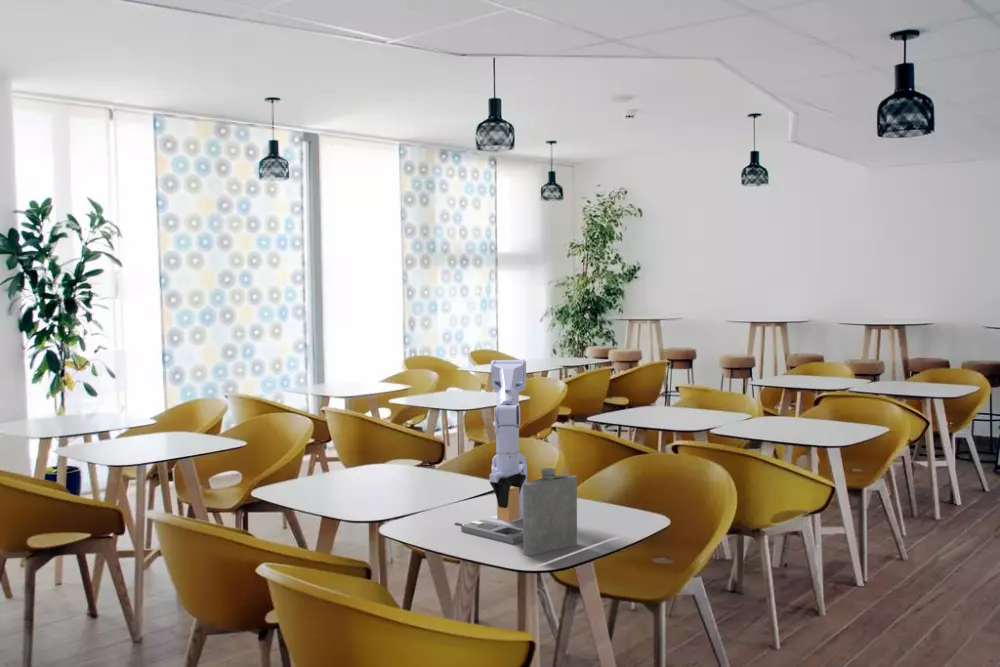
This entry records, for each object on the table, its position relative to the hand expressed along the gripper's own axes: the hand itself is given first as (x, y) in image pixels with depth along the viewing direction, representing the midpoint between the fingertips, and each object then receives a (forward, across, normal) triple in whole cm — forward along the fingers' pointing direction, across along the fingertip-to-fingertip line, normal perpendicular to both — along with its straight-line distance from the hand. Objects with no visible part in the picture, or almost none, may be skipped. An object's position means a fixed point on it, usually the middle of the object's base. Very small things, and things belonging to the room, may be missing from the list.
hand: (508, 505), depth 227 cm
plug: (+3, 0, 0) cm, 3 cm away
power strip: (+9, -1, -7) cm, 11 cm away
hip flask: (+9, +4, +14) cm, 17 cm away
